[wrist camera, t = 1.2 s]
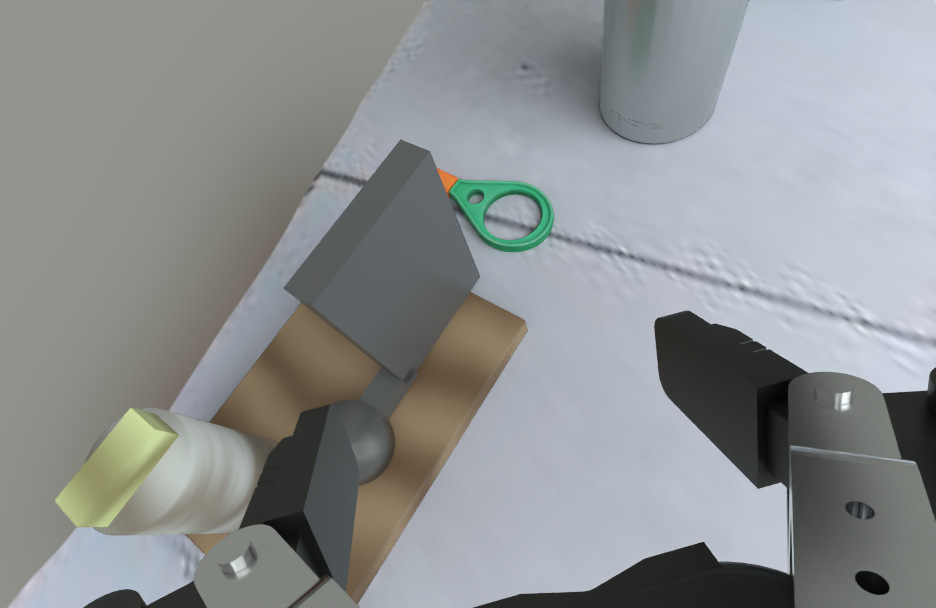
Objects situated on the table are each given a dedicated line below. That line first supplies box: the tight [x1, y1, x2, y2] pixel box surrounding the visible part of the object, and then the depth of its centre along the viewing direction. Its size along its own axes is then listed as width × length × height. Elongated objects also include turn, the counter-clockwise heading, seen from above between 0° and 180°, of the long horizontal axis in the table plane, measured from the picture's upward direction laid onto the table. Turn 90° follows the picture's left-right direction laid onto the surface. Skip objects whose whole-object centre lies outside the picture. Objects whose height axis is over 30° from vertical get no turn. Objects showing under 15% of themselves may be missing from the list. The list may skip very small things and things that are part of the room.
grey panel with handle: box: [284, 140, 480, 486], centre depth 28 cm, size 16×5×14 cm, turn 146°
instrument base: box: [55, 292, 527, 604], centre depth 30 cm, size 24×16×14 cm, turn 146°
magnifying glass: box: [437, 168, 554, 252], centre depth 41 cm, size 15×6×2 cm, turn 54°
